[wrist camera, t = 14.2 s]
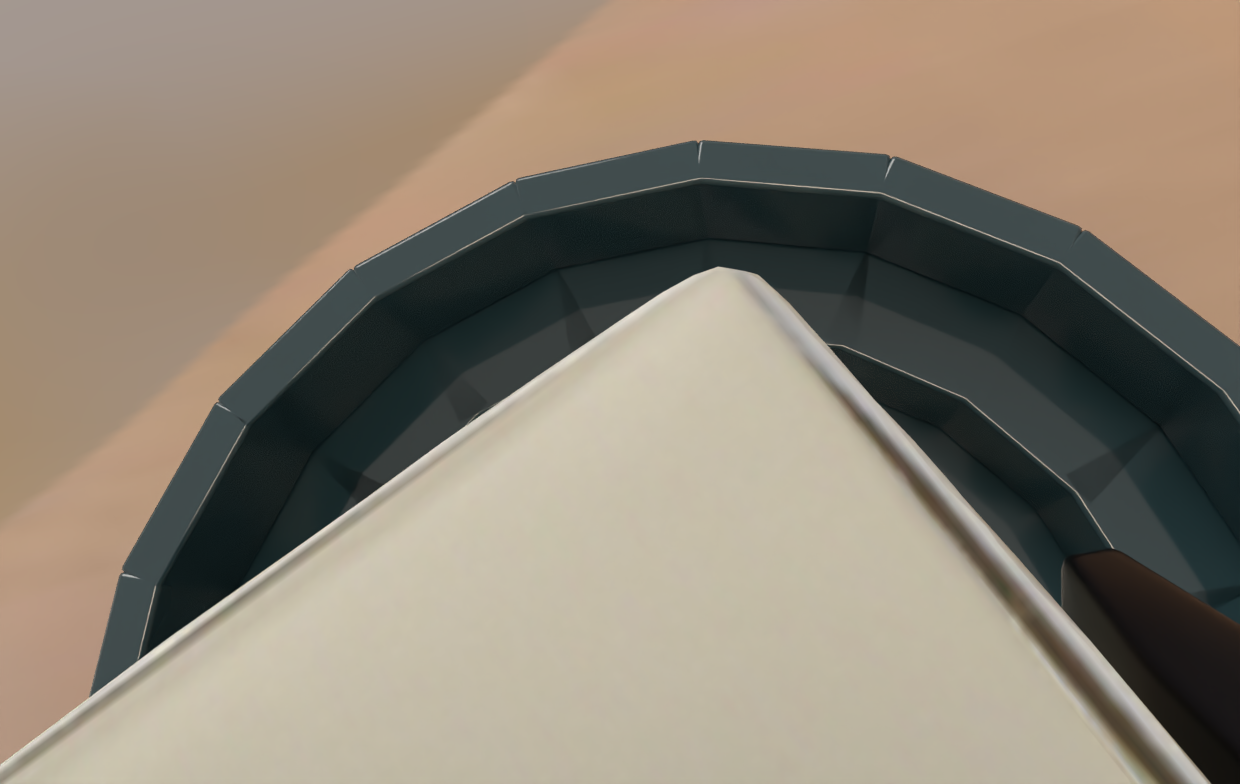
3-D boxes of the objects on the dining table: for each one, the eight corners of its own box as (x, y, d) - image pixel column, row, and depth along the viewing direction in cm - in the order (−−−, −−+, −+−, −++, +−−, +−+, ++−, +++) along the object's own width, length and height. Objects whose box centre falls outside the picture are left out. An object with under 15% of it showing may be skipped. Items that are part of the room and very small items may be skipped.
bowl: (1438, 1278, 13) (1760, 1589, 9) (292, 1390, 15) (91, 1704, 10) (1107, 182, 17) (1220, 24, 13) (223, 361, 19) (54, 276, 14)
